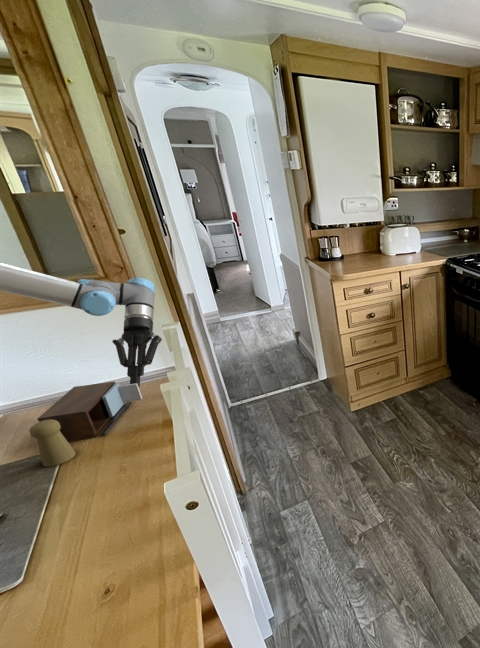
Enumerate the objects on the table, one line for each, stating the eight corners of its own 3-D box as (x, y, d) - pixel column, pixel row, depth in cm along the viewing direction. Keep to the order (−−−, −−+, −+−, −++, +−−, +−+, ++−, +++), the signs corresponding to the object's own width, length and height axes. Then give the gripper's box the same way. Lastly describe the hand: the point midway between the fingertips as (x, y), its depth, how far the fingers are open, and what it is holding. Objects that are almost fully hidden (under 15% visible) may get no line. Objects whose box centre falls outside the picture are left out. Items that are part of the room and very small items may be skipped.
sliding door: (109, 417, 113) (101, 397, 110) (123, 401, 121) (115, 382, 118) (132, 413, 115) (125, 393, 112) (144, 398, 123) (137, 380, 120)
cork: (36, 464, 95) (17, 428, 91) (64, 449, 101) (48, 414, 97) (53, 468, 94) (35, 432, 90) (81, 453, 100) (66, 418, 95)
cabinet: (49, 444, 102) (37, 418, 99) (84, 410, 118) (73, 386, 115) (105, 435, 107) (95, 409, 103) (131, 403, 122) (123, 380, 119)
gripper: (166, 323, 134) (164, 385, 126) (121, 327, 130) (115, 392, 122) (157, 313, 128) (154, 378, 120) (109, 317, 123) (102, 385, 115)
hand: (134, 385), depth 121 cm, fingers closed
